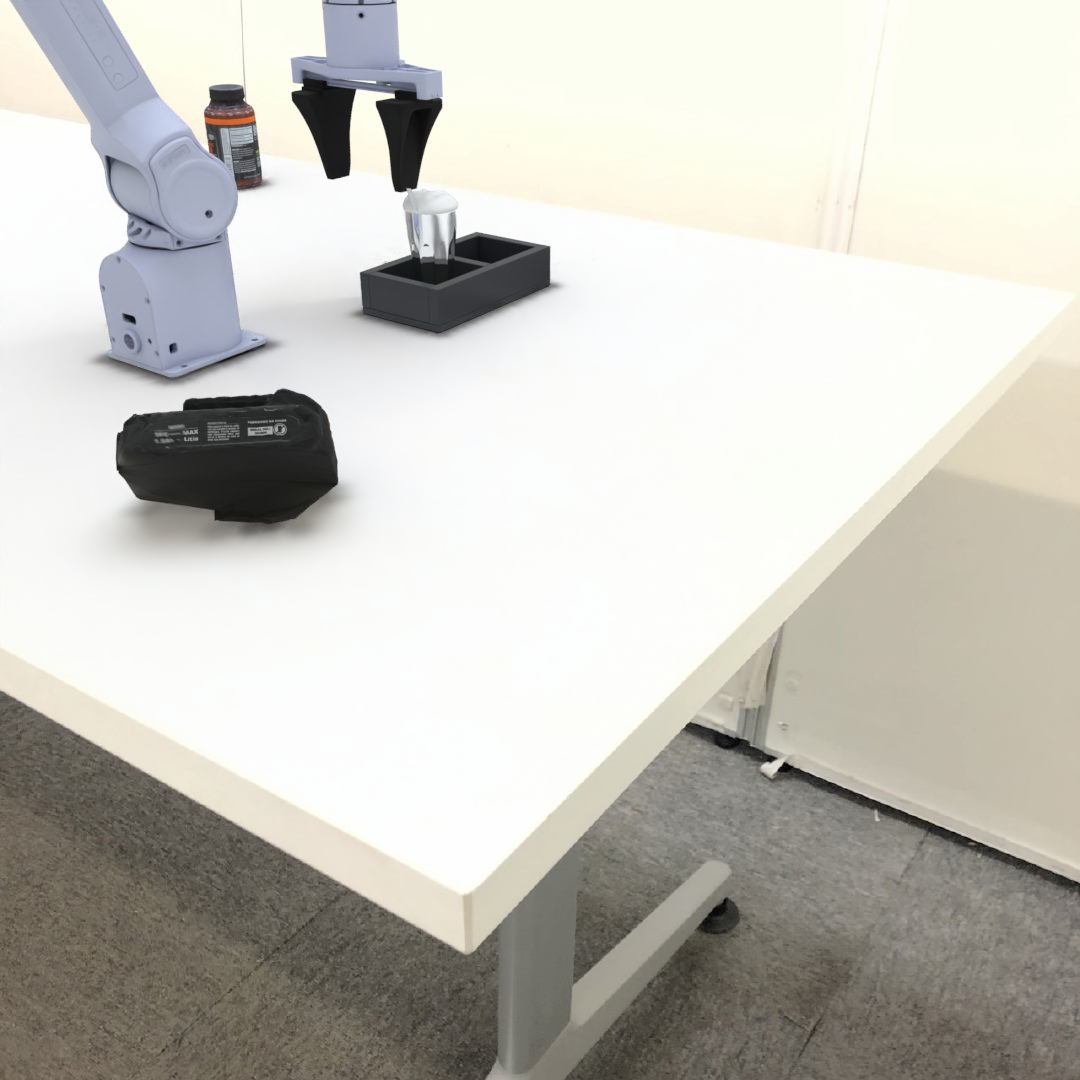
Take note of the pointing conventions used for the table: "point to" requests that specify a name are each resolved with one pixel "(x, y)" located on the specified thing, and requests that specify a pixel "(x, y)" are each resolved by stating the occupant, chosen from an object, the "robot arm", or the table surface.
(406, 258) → the dark grey divided tray
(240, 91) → the supplement bottle
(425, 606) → the table surface
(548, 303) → the table surface
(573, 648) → the table surface
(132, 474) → the battery
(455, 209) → the milkshake
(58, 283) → the table surface
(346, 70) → the robot arm
